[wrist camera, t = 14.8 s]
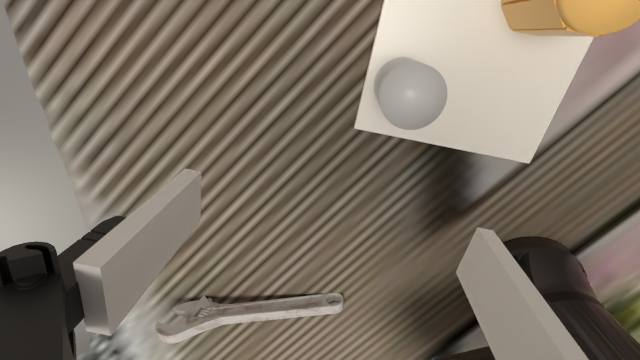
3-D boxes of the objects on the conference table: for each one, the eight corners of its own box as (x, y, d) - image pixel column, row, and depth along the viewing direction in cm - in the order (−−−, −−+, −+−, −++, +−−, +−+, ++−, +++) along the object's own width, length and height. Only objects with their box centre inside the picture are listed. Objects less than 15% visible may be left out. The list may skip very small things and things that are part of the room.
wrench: (341, 287, 56) (172, 305, 56) (340, 279, 55) (169, 297, 55) (346, 325, 48) (152, 346, 48) (345, 317, 47) (148, 337, 48)
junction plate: (523, 159, 40) (570, 193, 32) (354, 125, 40) (355, 150, 31) (625, -47, 31) (733, -78, 22) (405, -93, 31) (427, -142, 22)
